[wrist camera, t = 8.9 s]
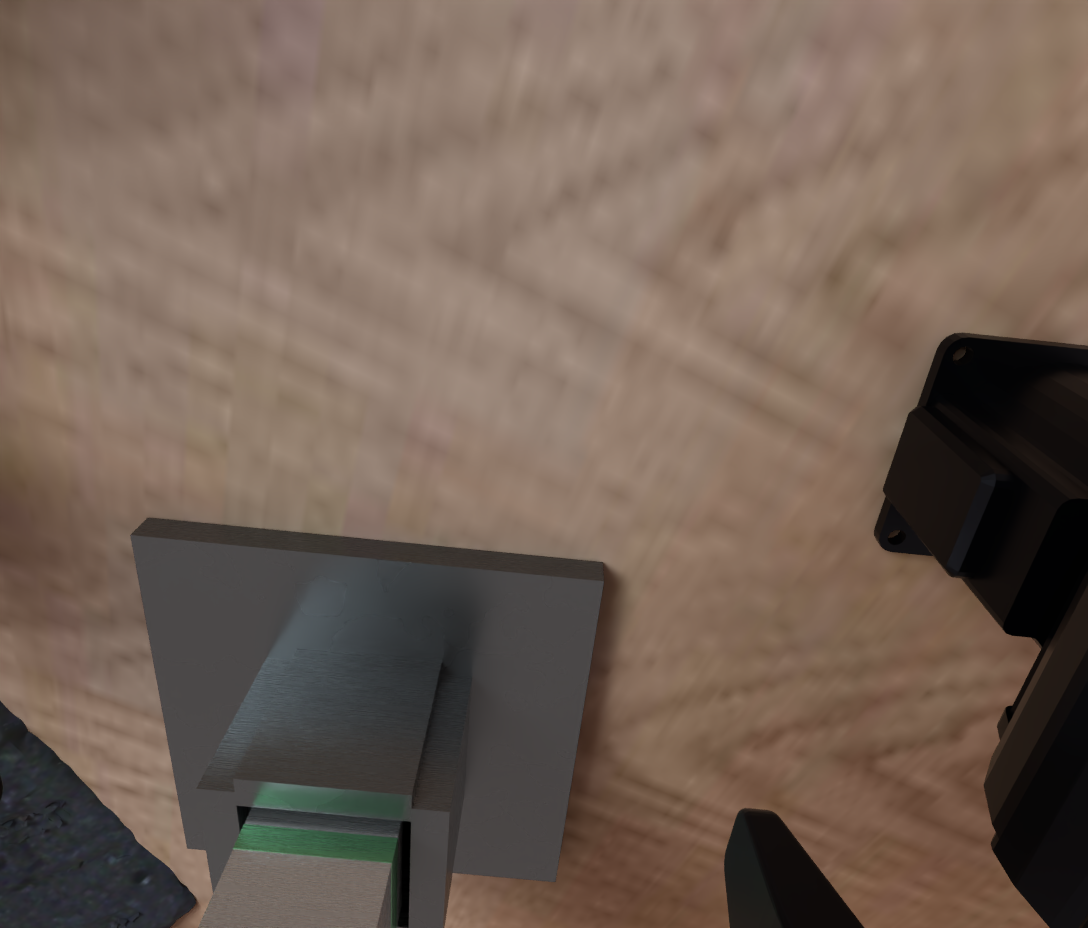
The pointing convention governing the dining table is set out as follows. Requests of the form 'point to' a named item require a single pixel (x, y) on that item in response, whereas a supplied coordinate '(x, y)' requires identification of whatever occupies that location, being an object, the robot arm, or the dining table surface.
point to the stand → (372, 692)
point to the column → (310, 873)
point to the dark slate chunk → (71, 849)
